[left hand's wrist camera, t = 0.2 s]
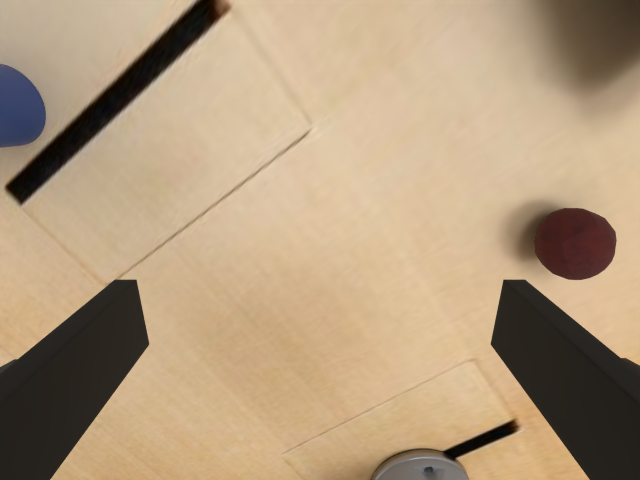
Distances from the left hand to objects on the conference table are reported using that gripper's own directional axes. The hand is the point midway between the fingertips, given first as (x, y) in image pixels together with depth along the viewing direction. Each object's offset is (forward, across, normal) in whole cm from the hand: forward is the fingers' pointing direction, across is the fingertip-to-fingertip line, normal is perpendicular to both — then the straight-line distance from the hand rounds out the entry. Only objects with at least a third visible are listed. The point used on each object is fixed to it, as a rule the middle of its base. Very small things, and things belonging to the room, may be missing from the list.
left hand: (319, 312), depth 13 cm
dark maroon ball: (+28, +27, -6) cm, 39 cm away
